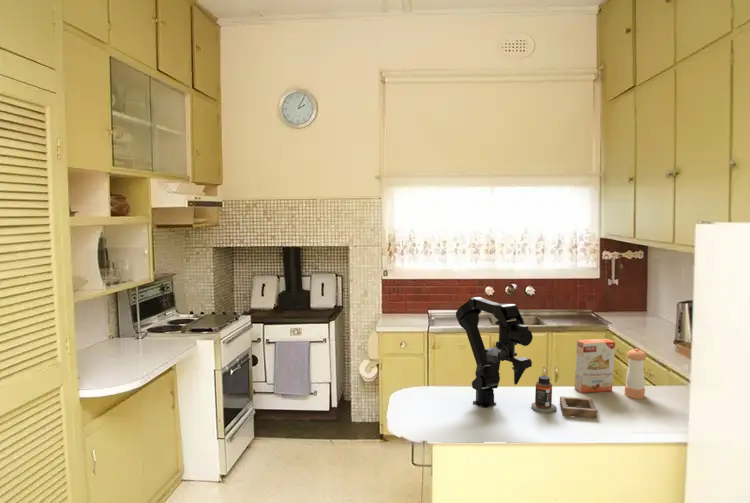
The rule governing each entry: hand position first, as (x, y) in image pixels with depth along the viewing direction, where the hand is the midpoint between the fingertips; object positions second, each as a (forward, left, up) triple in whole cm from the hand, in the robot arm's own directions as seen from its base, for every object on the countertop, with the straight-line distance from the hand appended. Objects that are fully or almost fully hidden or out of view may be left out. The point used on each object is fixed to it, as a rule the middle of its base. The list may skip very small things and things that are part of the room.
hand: (505, 380), depth 204 cm
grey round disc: (+4, +17, -13) cm, 22 cm away
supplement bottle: (+4, +17, -12) cm, 21 cm away
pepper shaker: (+17, +57, -13) cm, 61 cm away
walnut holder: (+13, +25, -13) cm, 31 cm away
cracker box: (+4, +49, -13) cm, 51 cm away
